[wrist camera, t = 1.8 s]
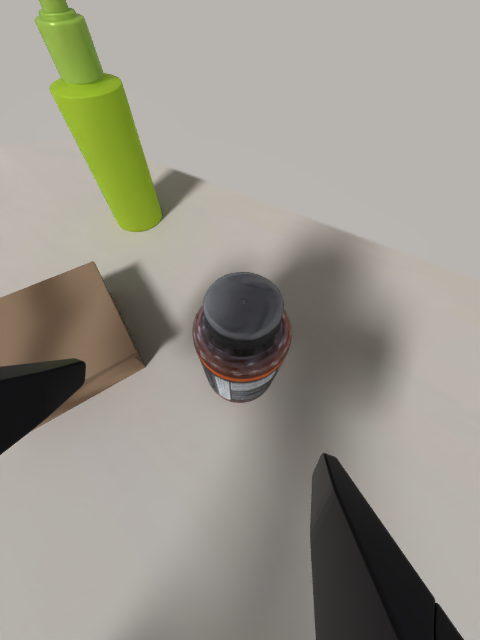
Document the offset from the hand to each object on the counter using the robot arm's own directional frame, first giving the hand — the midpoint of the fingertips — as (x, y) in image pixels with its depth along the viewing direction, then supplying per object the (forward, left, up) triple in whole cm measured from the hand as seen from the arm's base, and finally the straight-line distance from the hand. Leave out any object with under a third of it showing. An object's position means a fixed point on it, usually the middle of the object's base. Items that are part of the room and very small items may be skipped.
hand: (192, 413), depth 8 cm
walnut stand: (-8, +13, -12) cm, 19 cm away
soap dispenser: (+5, +28, -12) cm, 31 cm away
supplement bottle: (+4, +3, -12) cm, 13 cm away
